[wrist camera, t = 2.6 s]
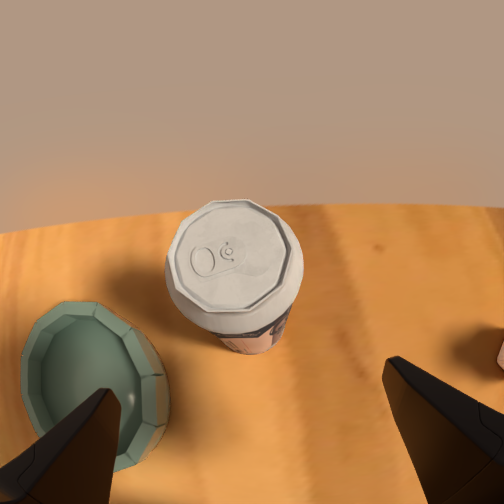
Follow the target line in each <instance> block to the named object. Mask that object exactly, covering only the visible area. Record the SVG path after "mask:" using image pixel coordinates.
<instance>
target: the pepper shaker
mask: <svg viewBox="0 0 504 504" xmlns="http://www.w3.org/2000/svg"><path fill="white" fill-rule="evenodd" d="M497 362H498V364H499V365H500V366H501V368H502V369H503V370H504V342H503V344H502V347H501V350H500V352H499V355H498V357H497Z"/></svg>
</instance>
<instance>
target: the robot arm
mask: <svg viewBox="0 0 504 504" xmlns="http://www.w3.org/2000/svg"><path fill="white" fill-rule="evenodd" d="M382 382H383V385H384V388H385V391H386V394H387V398H388V401H389V404H390V407H391V411H392V414H393V417H394V420H395V422H396V425H397V427H398V429H399V432H400V434H401V436H402V439H403V441H404V443H405V446H406V448H407V451H408V453H409V455H410V458H411V460H412V463H413V465H414V468H415V470H416V473H417V475H418V478H419V481H420V483H421V486H422V488H423V491H424V494H425V497H426V499H427V502H428V504H504V414H502V413H500V412H497V411H495V410H494V409H492V408H490V407H488V406H486V405H484V404H482V403H481V402H478V401H477V400H475V399H473V398H471V397H470V396H468V395H466V394H464V393H463V392H461V391H459V390H457V389H456V388H454V387H452V386H450V385H448V384H447V383H445V382H443V381H441V380H440V379H438V378H436V377H435V376H433V375H431V374H429V373H428V372H426V371H424V370H422V369H421V368H419V367H417V366H415V365H414V364H412V363H410V362H409V361H407V360H405V359H403V358H402V357H400V356H394V357H391V358H388V359H387V360H386V362H385V366H384V370H383V374H382ZM121 410H122V408H121V404H120V402H119V400H118V398H117V397H116V395H115V394H114V392H113V390H112V389H110V388H99V389H97V390H96V391H95V392H94V393H93V394H92V395H90V396H89V397H88V398H87V399H86V400H85V401H83V402H82V403H81V404H80V405H79V406H77V407H76V408H75V409H74V410H73V411H72V412H70V413H69V414H68V415H67V416H66V417H64V418H63V419H62V420H61V421H60V422H59V423H57V424H56V425H55V426H54V427H53V428H51V429H50V430H49V431H48V432H47V433H46V434H44V435H43V436H42V437H41V438H40V439H38V440H37V441H36V442H35V443H34V444H32V445H31V446H30V447H29V448H28V449H26V450H25V451H24V452H23V453H21V454H20V455H19V456H17V457H16V458H15V459H13V460H12V461H10V462H9V463H7V464H6V465H4V466H3V467H1V468H0V504H109V497H110V490H111V483H112V477H113V471H114V465H115V460H116V454H117V449H118V442H119V430H120V420H121Z"/></svg>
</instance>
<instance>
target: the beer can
mask: <svg viewBox="0 0 504 504" xmlns="http://www.w3.org/2000/svg"><path fill="white" fill-rule="evenodd" d="M303 270H304V269H303V254H302V251H301V248H300V245H299V242H298V240H297V238H296V236H295V235H294V233H293V231H292V230H291V228H290V227H289V226H288V225H287V223H285V222H284V221H283V220H282V219H281V218H280V217H279V216H278V215H276V214H274V213H273V212H271V211H269V210H267V209H265V208H264V207H262V206H260V205H258V204H256V203H254V202H252V201H251V200H249V199H239V200H222V201H211V202H210V203H208V204H207V205H205V206H203V207H202V208H200V209H199V210H197V211H196V212H194V213H193V214H191V215H190V216H188V217H187V218H185V219H184V220H183V221H181V224H180V226H179V228H178V230H177V232H176V234H175V236H174V238H173V241H172V243H171V246H170V248H169V251H168V253H167V257H166V262H165V279H166V285H167V288H168V291H169V294H170V296H171V299H172V301H173V302H174V304H175V305H176V307H177V308H178V309H179V310H180V312H181V313H182V314H183V315H184V316H185V317H186V318H187V319H189V320H190V321H192V322H193V323H195V324H196V325H198V326H199V327H201V328H203V329H206V330H208V331H209V332H211V333H212V334H213V335H215V336H216V337H217V338H219V339H220V340H221V341H223V343H224V344H225V345H226V346H228V347H229V348H230V349H232V350H234V351H235V352H238V353H240V354H247V355H254V354H260V353H263V352H265V351H267V350H269V349H270V348H272V347H273V346H274V345H275V344H276V343H277V342H278V341H279V340H280V338H281V336H282V334H283V331H284V328H285V324H286V321H287V318H288V315H289V312H290V309H291V306H292V304H293V301H294V299H295V297H296V296H297V294H298V291H299V288H300V284H301V281H302V278H303Z"/></svg>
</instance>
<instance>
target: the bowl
mask: <svg viewBox="0 0 504 504" xmlns="http://www.w3.org/2000/svg"><path fill="white" fill-rule="evenodd" d="M22 355H23V356H21V394H23V395H22V399H23V402H24V405H25V407H26V410H27V413H28V415H29V418H30V420H31V423H32V425H33V427H34V430H35V432H36V433H37V435H38V436H39V437H40V438H41V437H42V436H43V435H44V434H46V433H47V432H48V431H49V430H50V429H51V428H53V427H54V426H55V425H56V424H57V423H59V422H60V421H61V420H62V419H63V418H64V417H66V416H67V415H68V414H69V413H70V412H72V411H73V410H74V409H75V408H76V407H77V406H79V405H80V404H81V403H82V402H83V401H85V400H86V399H87V398H88V397H89V396H90V395H92V394H93V393H94V392H95V391H96V390H97V389H99V388H110V389H112V390H113V392H114V394H115V395H116V397H117V398H118V400H119V402H120V404H121V408H122V410H121V420H120V430H119V442H118V449H117V454H116V460H115V465H114V471H113V473H114V472H117V471H120V470H123V469H125V468H128V467H131V466H134V465H136V464H138V463H140V462H141V461H143V460H145V459H146V458H147V457H148V456H149V454H150V453H151V451H152V450H153V449H154V448H155V447H156V446H157V445H158V443H159V442H160V440H161V439H162V437H163V435H164V433H165V430H166V427H167V424H168V421H169V415H170V401H171V398H170V388H169V383H168V378H167V374H166V371H165V368H164V365H163V363H162V361H161V359H160V356H159V354H158V353H157V351H156V349H155V348H154V346H153V344H152V343H151V342H150V341H149V339H148V338H147V337H146V335H145V334H144V333H143V332H142V331H141V330H140V329H139V328H137V327H136V326H135V325H134V324H132V323H131V322H129V321H128V320H126V319H124V318H123V317H121V316H119V315H118V314H116V313H115V312H114V311H112V310H111V309H109V308H107V307H106V306H104V305H102V304H100V303H97V302H64V303H63V302H62V303H60V304H59V305H57V306H56V307H55V308H53V309H52V310H50V311H49V312H48V313H46V314H45V315H44V316H42V317H41V318H40V319H38V320H37V322H35V324H34V326H33V329H32V331H31V333H30V335H29V337H28V340H27V342H26V344H25V347H24V349H23V351H22Z"/></svg>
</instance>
